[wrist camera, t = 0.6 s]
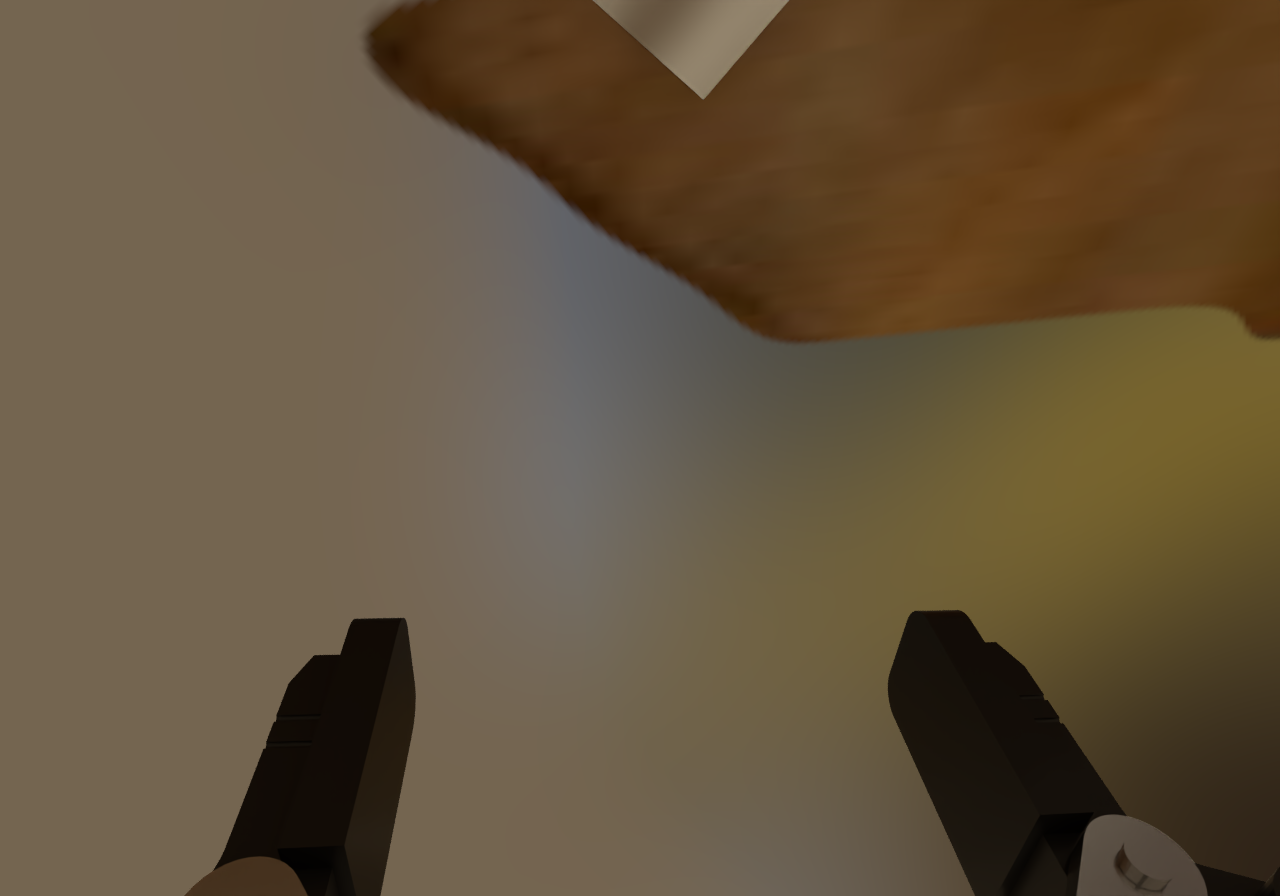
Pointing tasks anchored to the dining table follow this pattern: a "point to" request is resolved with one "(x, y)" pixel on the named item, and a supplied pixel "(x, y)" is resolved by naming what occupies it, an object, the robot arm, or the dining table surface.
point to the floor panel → (695, 33)
